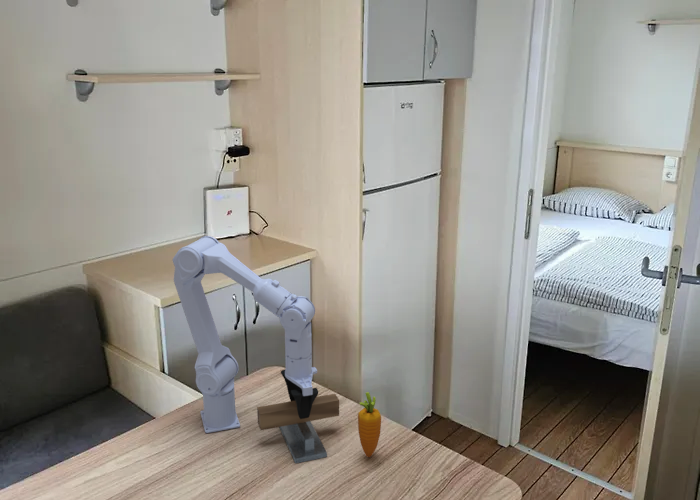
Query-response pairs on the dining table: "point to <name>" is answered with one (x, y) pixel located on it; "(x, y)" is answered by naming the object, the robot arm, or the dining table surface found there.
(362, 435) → the carrot
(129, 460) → the dining table surface
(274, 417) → the walnut rod
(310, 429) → the stand
